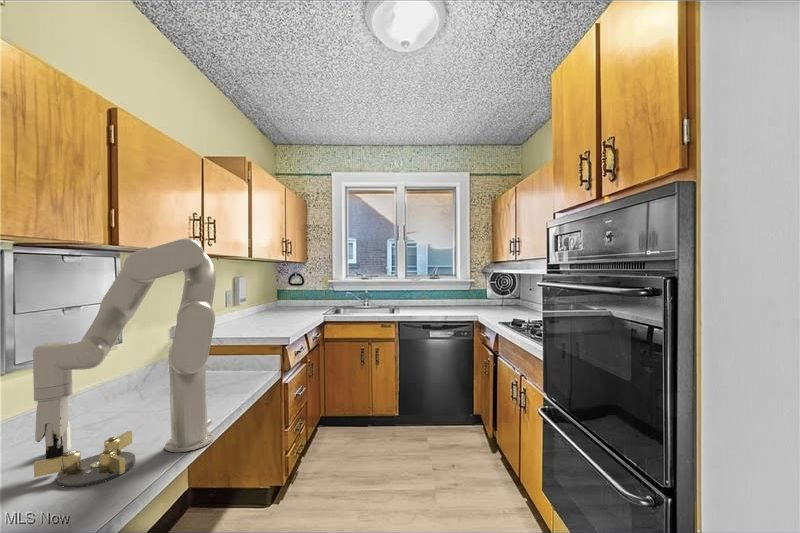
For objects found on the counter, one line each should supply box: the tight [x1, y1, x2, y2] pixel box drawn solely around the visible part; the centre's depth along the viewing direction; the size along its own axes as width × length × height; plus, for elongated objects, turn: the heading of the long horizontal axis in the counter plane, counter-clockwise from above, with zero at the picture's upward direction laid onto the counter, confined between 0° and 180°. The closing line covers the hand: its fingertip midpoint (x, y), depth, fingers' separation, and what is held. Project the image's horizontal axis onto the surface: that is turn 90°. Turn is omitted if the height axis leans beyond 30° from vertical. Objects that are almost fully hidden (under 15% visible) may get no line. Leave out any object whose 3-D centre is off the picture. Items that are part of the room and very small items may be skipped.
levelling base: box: [56, 451, 136, 488], centre depth 104 cm, size 16×16×2 cm
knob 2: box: [103, 430, 133, 455], centre depth 112 cm, size 9×4×5 cm, turn 0°
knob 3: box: [98, 449, 126, 475], centre depth 100 cm, size 9×4×5 cm, turn 60°
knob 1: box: [33, 449, 82, 478], centre depth 100 cm, size 9×4×5 cm, turn 120°
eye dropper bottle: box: [63, 420, 72, 454], centre depth 117 cm, size 4×6×12 cm
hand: (55, 463), depth 103 cm, fingers closed
